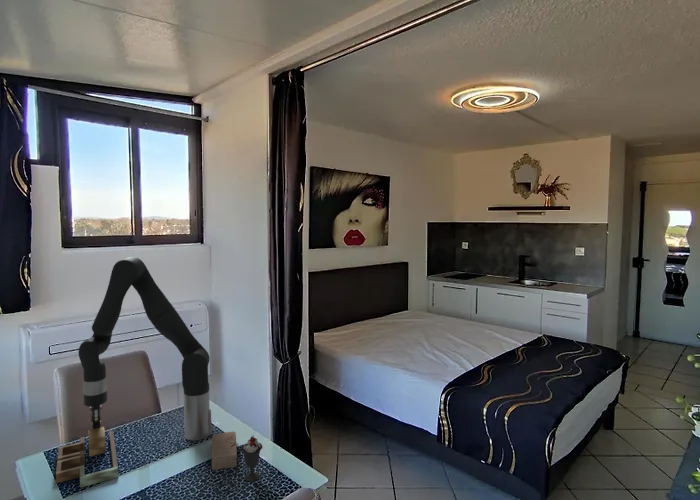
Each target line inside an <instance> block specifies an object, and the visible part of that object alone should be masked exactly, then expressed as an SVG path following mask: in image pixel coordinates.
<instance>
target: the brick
mask: <svg viewBox="0 0 700 500" xmlns="http://www.w3.org/2000/svg"><path fill="white" fill-rule="evenodd" d="M236 433H237V432H236V431H227V432H221V433H217V434H213V435H211V436H212V437H211V469H212V470H213V471H214V470H215V471H216V470H221V469H230V467H232V468H235V467H237V462H238V461H237V459H238V449H237V434H236Z"/></svg>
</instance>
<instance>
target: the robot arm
mask: <svg viewBox="0 0 700 500" xmlns="http://www.w3.org/2000/svg"><path fill="white" fill-rule="evenodd" d="M131 287H133V288H134V290H135V291H136V292H137V294H138V296H139V298H140V300H141V303H142V306H143V309H144V312H145V314H146V315H145V316H146V317H147V318H148V320H149V321H150V323H151V324H152V326H153V327H154V328H155V329H156V330H157V332H159V333H160V334H161V336H163V337H164V338H166V339H167V340H168V341H170V342H171V343H173V345H174V346H175V347H176V348H177V350H178V351H179V353H180V354H181V356H182V358H183V359H182V362H181V383H182V388H183V416H184V417H183V419H184V421H183V423H184V427H183V428H184V438H185V439H186V440H187V441H200V440H203V439H205V438H207V437H209V436H212V410H211V408H210V404H211V403H210V382H209V363H210V355H209V352H208V351H207V350H206V349H205V348H204V346H203V345H202V344H201V343H200V342H199V341H198V339H197V338H196V337H194V335H193V333H191V331H190V329H189V328H188V326H187V324H186V323H185V321H184V320H183V319H182V317H181V316H180V314H179V313H178V311H177V309H176V308H175V307H174V306H173V304H172V303H171V302H170V300H169V299H168V298H167V296H166V295H165V293H163V291H162V290H161V288H160V287H159V286H158V284H157V283H156V282H155V280H154V278H153V277H152V275H151V273H150V271H149V270H148V267H147V266H146V264H145V263H144V262H143V260H142V259H141V258H139V257H136V256H127V257H125V258H122V259H119V260H118V261H117V262H115V264H114V265H113V267H112V270H111V273H110V277H109V282H108V286H107V289H106V292H105V295H104V298H103V300H102V303H101V306H100V307H99V309H98V312H97V314H96V315H95V318H94V321H93V323H92V326H91V331H92V332H93V333H92V336H91V337H90V338H87V339H86V340H84V341H83V342H81V343H80V345H79V348H78V357H79V361H80V364H81V367H82V370H83V385H82V387H83V388H82V390H83V394H82V395H83V405H84V406H85V407H87V408H89V416H90V422H91V427H92V429H96V428H101V425H102V423H101V422H102V413H103V405H104V404H106V403H107V401H108V383H107V375H106V374H107V373H106V372H107V369H106V364H105V362H104V361H100V355H102V354H104V353H105V352H106V351H107V350H108V349H109V346H110V344H111V341H112V335H113V331H114V329H115V328H116V325H117V322H118V320H119V317H120V314H121V312H122V311H121V310H122V306H123V303H124V299H125V297H126V295H127V293H128V291H129V289H130V288H131Z"/></svg>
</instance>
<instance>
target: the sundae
mask: <svg viewBox="0 0 700 500" xmlns="http://www.w3.org/2000/svg"><path fill="white" fill-rule="evenodd" d="M262 449H263V445H262V443H261V442H259V441H258V439H257V438H256V437H254V435H252V436H250V439H248V440H247V443H244V444H242V446H241V448H240V451H241V452H243V455H244V463H245V465H246V466H247V468H249V472H248V473H246V475H244V480H246V481H245V482H247V481H250V482H249V483H253V481H254V482H256V480H257V481H258V480H259V479H260V478H259V477H261V475H260V474H259V473H258V472H255V467H256V466H257V465H258V464H259V459H260V453H261V450H262ZM254 472H255V473H254Z"/></svg>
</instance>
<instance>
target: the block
mask: <svg viewBox="0 0 700 500" xmlns="http://www.w3.org/2000/svg"><path fill="white" fill-rule="evenodd" d="M87 432H88V456H89V457H94V456H97V455H101V454H105V453H107V452H106V451H107V450H106V449H107V447H106V432H105V426H102V427H101V426H100V428H96V429H93V428H91V429H88V431H87Z"/></svg>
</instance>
